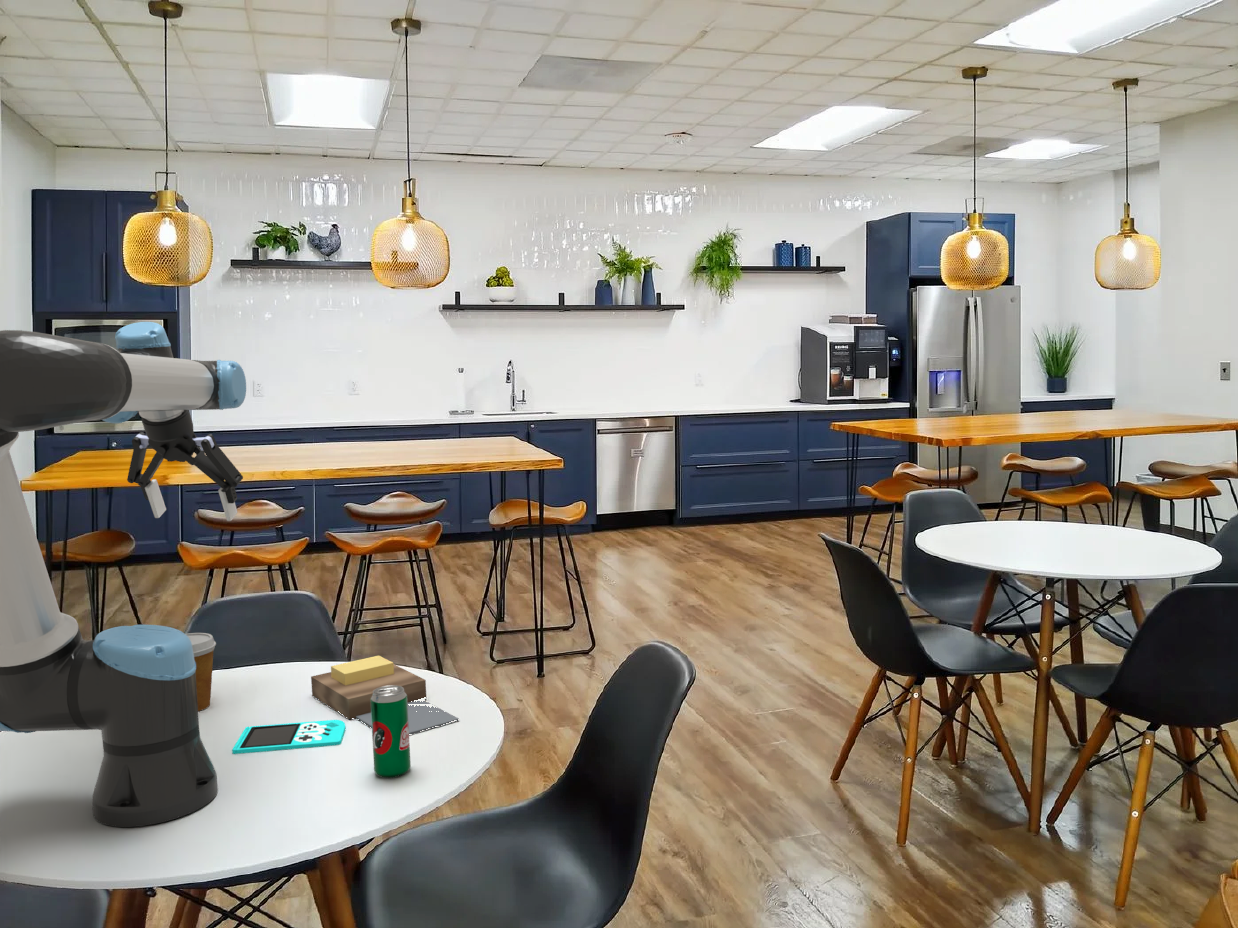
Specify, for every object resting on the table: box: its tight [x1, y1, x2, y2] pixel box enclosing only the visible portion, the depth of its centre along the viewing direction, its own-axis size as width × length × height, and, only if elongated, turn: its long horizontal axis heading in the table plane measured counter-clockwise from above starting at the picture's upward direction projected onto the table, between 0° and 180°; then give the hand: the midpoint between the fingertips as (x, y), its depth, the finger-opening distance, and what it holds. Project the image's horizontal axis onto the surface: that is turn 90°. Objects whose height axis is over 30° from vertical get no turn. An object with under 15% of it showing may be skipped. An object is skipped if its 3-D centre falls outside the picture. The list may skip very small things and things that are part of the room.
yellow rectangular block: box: [330, 655, 395, 685], centre depth 170 cm, size 6×9×2 cm, turn 129°
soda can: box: [370, 685, 412, 779], centre depth 136 cm, size 5×5×12 cm
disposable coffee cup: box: [185, 632, 217, 712], centre depth 166 cm, size 10×10×12 cm
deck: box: [310, 664, 427, 720], centre depth 168 cm, size 16×14×4 cm
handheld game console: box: [231, 719, 347, 755], centre depth 151 cm, size 10×16×1 cm, turn 99°
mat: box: [355, 700, 460, 735], centre depth 157 cm, size 13×12×1 cm
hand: (196, 515), depth 174 cm, fingers open, 13 cm apart
